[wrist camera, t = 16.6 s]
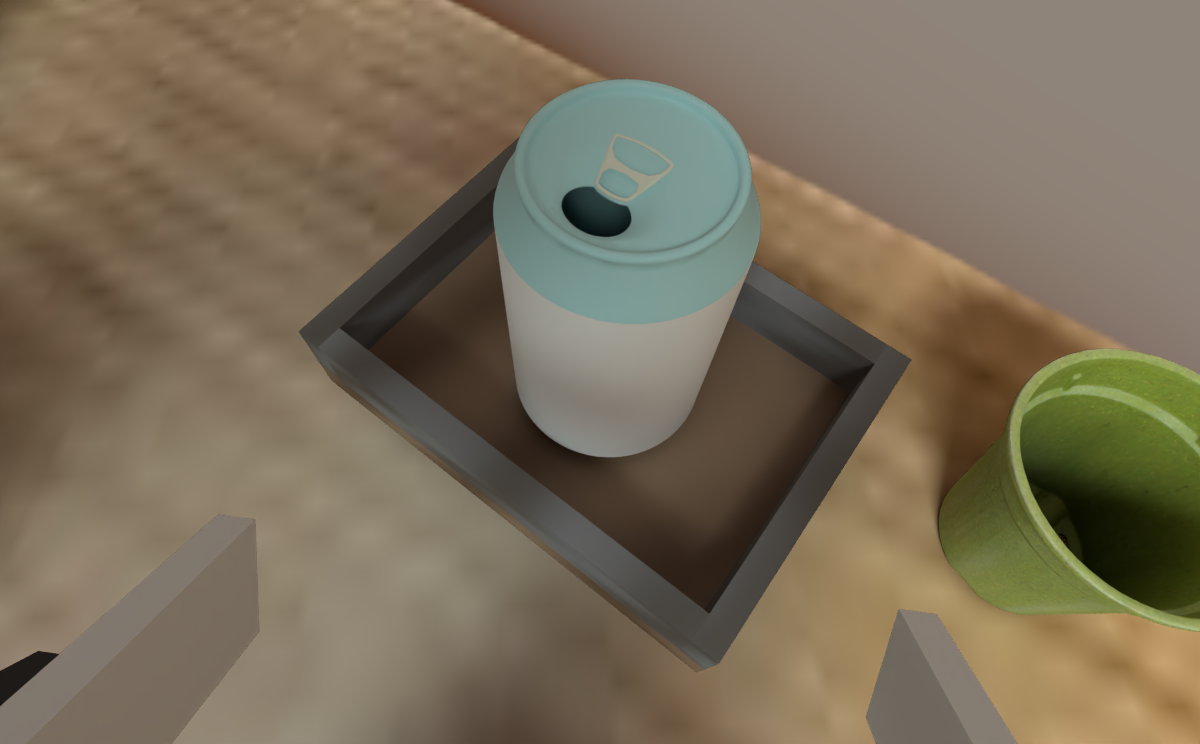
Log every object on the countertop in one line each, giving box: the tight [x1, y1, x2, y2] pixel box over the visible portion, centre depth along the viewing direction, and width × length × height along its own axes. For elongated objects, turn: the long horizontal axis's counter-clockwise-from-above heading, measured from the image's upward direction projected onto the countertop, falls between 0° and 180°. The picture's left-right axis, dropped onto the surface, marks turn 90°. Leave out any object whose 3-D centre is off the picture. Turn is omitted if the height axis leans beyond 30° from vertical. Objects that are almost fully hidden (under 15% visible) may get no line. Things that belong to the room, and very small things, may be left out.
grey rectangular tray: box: [299, 137, 911, 672], centre depth 29 cm, size 18×13×7 cm
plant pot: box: [939, 349, 1200, 632], centre depth 26 cm, size 9×9×9 cm
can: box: [493, 79, 761, 457], centre depth 22 cm, size 7×7×12 cm
